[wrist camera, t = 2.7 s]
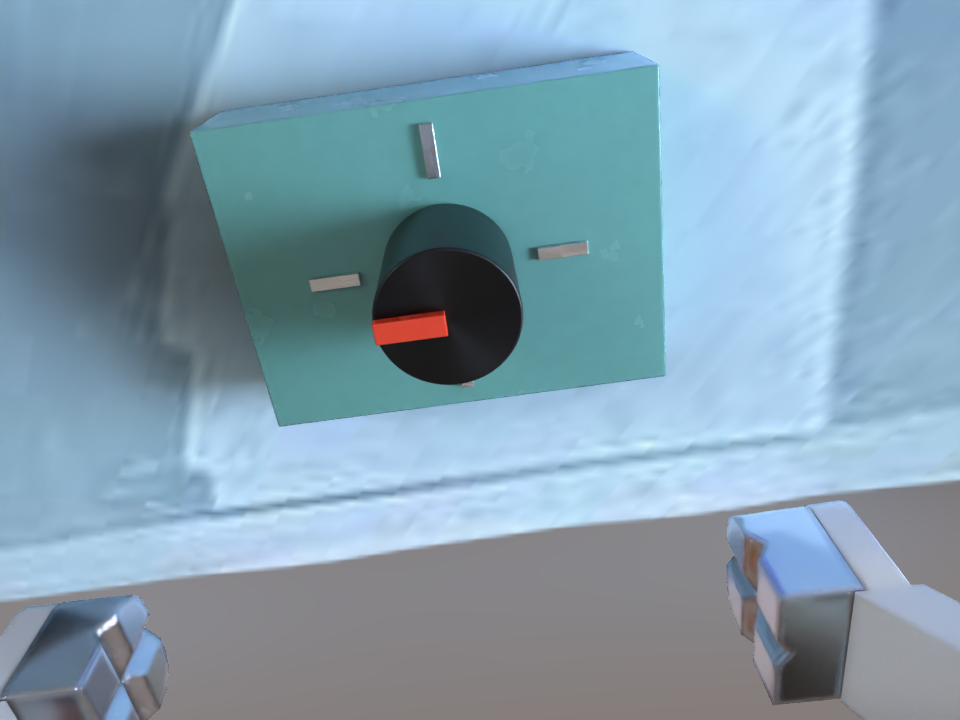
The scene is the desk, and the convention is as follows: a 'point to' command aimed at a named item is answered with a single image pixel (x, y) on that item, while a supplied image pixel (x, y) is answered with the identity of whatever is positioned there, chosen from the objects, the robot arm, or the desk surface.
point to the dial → (447, 296)
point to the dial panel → (439, 180)
